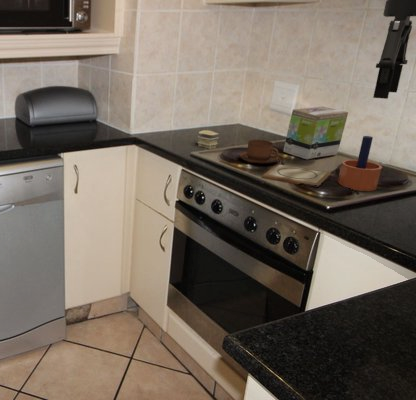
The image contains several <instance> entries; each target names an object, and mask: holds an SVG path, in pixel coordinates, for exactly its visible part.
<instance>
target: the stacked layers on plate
mask: <svg viewBox="0 0 416 400" xmlns="http://www.w3.org/2000/svg"><path fill="white" fill-rule="evenodd" d="M216 135H219V133H218V132H216V131H213V130H207V129H206V130H205V129H204V130H200V131H198V136H197V137H198V140H197V146H198V147H201V148H202V147H203V148H206V149H209V150H212V149H217V145H218V144H219V143H218V140H219V138H220V137H218V136H216Z"/></svg>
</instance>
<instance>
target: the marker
mask: <svg viewBox="0 0 416 400" xmlns="http://www.w3.org/2000/svg"><path fill="white" fill-rule="evenodd" d="M373 139H374V137H373V136H370V135H363V136H362V140H361V145H360V149H359V153H358V157H357V160H358V162H357V166H356V168H362V169H366V165H367V161H369V156H370V153H371V147H372V143H373Z"/></svg>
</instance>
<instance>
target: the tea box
mask: <svg viewBox="0 0 416 400" xmlns="http://www.w3.org/2000/svg"><path fill="white" fill-rule="evenodd" d="M348 114H349V112H348V111H345V110H341V109H337V108H336V109H335V108H332V107H331V108H330V107H326V106H313V107H305V108H296V109H295V108H294V109H292V113H291V115H290V120H289V125H288V128H287V133H286V138H285V142H284V146H283V153H286V154H289V155H292V156H295V157H298V158H301V159H305V160H311V159H315V158H321V157H322V158H323V157H328V156H329V157H330V156H336V155H338V153H339V149H340V145H341V141H342V137H343V133H344V130H345V126H346V123H347V119H348Z"/></svg>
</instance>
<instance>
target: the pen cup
mask: <svg viewBox="0 0 416 400" xmlns="http://www.w3.org/2000/svg"><path fill="white" fill-rule="evenodd" d="M357 162H358V159H346V160H343V161H341V164H340V169H339V172H338V173H339V174H338V178H337V184H338V183H339V184H341V185H343V186H345V187H349V188H351V189H350V190H352V189H353V190H352V191H359V192H360V191H361V192H372V191H376V190H377V189H378V186H379V182H380V178H381V175H382V170H383V166H382V165H381V164H379V163H376V162H373V161H369V160H368V161H367V165H366V169H362V168H356V166H357ZM339 184H338V185H339ZM345 187H344V188H345Z"/></svg>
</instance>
